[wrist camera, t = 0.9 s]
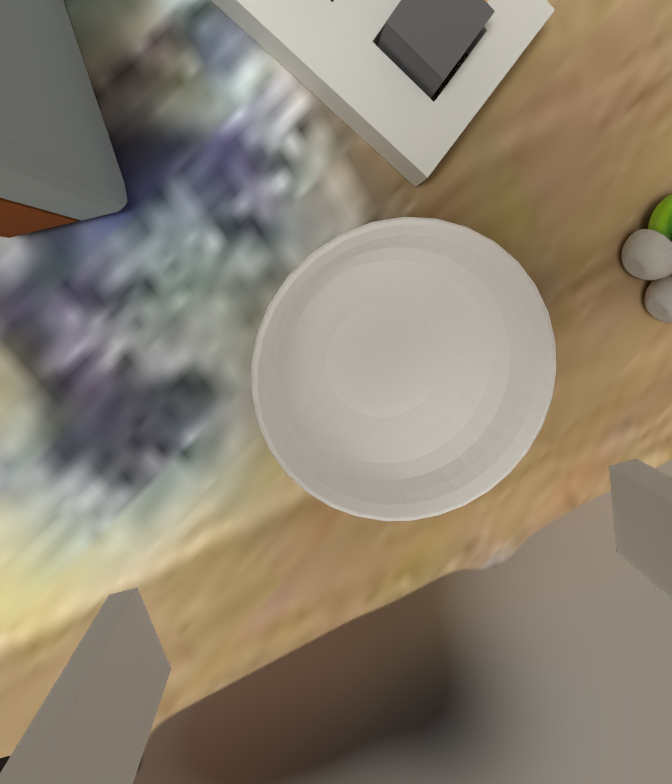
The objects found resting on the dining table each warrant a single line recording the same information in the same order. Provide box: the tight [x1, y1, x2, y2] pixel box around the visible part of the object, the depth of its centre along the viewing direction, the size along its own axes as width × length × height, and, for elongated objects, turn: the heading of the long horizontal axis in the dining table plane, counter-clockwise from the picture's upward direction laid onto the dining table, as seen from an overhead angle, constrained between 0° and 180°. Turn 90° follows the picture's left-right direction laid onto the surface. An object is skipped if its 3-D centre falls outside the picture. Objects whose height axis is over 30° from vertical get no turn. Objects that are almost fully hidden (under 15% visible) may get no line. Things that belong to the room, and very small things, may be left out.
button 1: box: [377, 0, 495, 99], centre depth 26 cm, size 4×4×3 cm
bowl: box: [251, 217, 556, 521], centre depth 30 cm, size 19×19×8 cm
